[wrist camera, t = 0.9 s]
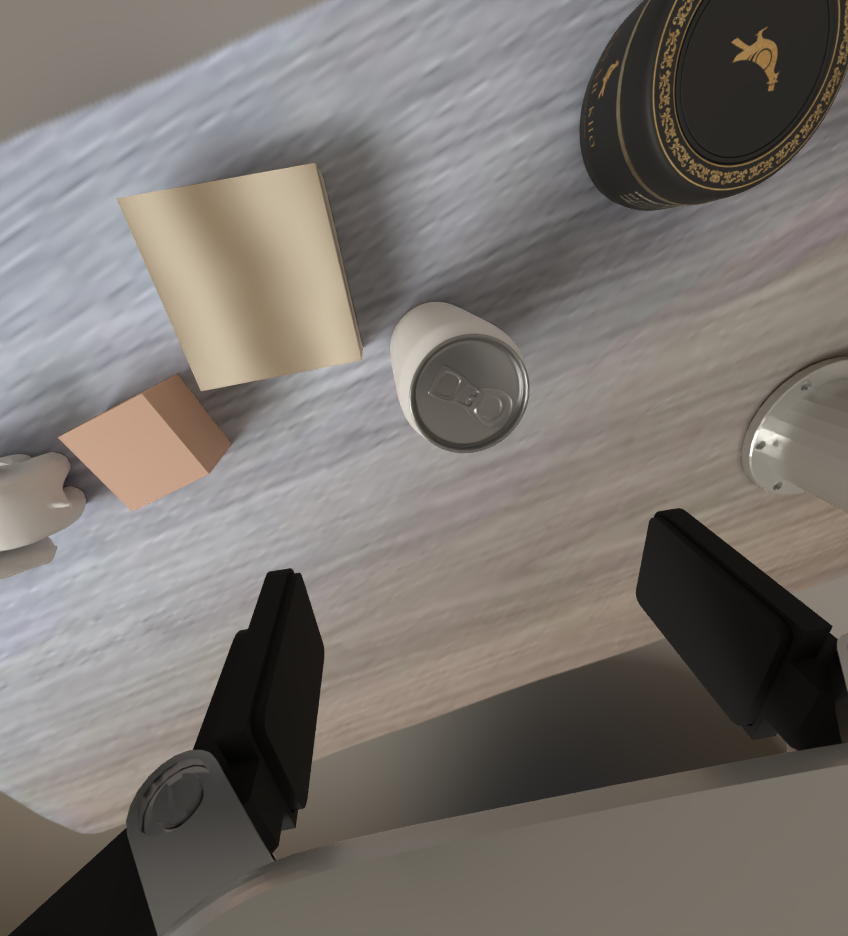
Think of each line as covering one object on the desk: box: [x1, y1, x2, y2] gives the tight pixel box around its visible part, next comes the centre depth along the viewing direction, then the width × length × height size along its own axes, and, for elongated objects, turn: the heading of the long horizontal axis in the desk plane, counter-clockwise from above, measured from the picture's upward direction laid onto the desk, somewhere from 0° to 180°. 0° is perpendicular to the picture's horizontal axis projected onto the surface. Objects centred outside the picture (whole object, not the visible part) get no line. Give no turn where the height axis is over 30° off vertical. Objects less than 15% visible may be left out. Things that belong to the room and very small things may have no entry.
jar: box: [580, 0, 848, 211], centre depth 21 cm, size 10×10×8 cm
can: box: [390, 302, 529, 453], centre depth 24 cm, size 6×6×12 cm
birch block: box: [117, 163, 363, 391], centre depth 24 cm, size 10×10×4 cm
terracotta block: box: [58, 374, 232, 512], centre depth 27 cm, size 6×6×5 cm
